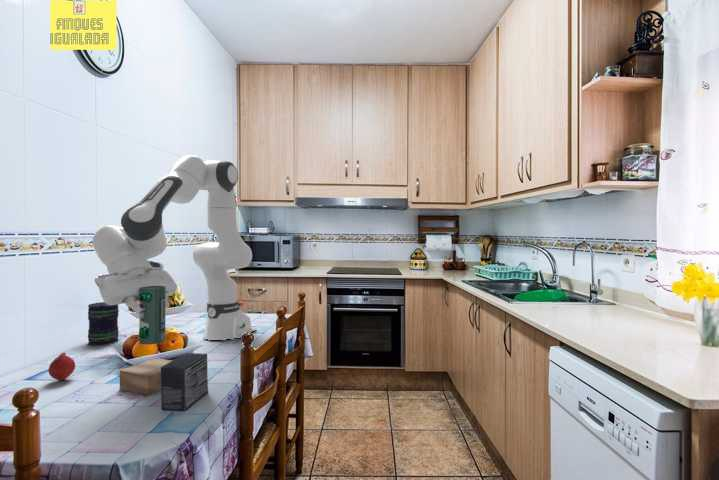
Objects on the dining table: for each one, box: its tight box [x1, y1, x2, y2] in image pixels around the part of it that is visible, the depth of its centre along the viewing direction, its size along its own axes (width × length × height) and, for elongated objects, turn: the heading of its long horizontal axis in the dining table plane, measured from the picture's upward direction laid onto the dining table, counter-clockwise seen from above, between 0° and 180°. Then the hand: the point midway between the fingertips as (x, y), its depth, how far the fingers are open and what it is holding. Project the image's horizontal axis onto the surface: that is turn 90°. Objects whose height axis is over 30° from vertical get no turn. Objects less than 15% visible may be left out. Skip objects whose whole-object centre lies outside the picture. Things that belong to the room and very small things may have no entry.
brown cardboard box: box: [119, 357, 172, 397], centre depth 101 cm, size 11×11×5 cm
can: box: [138, 286, 166, 346], centre depth 101 cm, size 6×6×15 cm
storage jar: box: [87, 301, 120, 347], centre depth 142 cm, size 10×10×15 cm
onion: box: [48, 351, 76, 382], centre depth 103 cm, size 6×6×8 cm
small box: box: [160, 352, 209, 412], centre depth 90 cm, size 11×6×10 cm, turn 174°
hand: (154, 309), depth 100 cm, fingers closed on can, 6 cm apart
